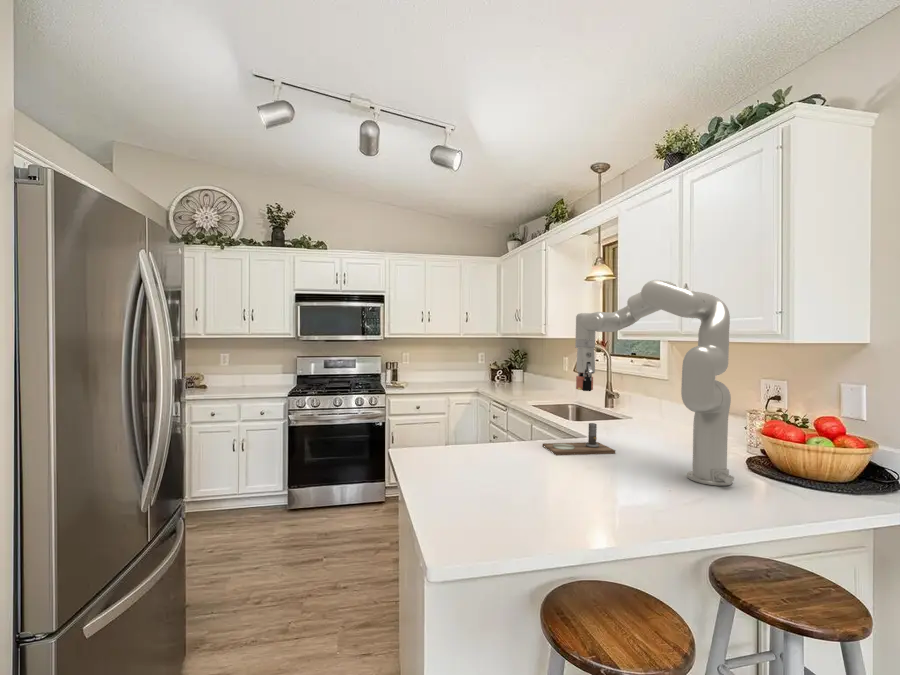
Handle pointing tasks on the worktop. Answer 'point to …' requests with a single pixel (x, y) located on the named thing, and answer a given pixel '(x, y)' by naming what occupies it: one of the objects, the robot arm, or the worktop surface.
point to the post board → (581, 445)
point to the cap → (581, 383)
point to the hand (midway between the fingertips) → (584, 389)
